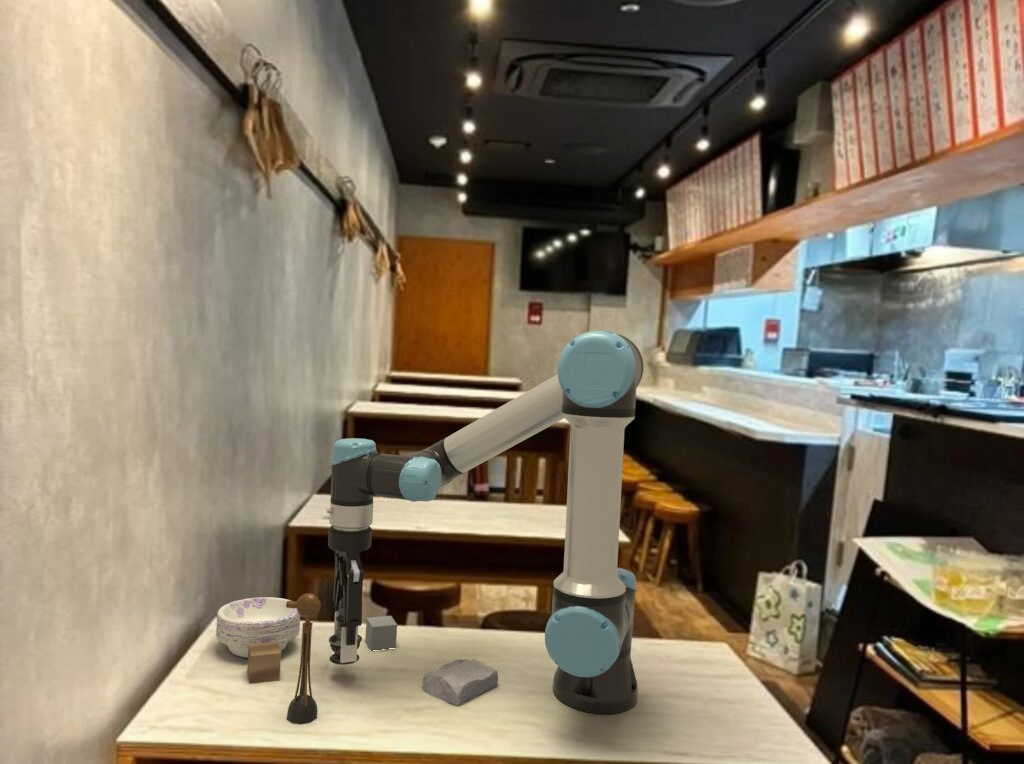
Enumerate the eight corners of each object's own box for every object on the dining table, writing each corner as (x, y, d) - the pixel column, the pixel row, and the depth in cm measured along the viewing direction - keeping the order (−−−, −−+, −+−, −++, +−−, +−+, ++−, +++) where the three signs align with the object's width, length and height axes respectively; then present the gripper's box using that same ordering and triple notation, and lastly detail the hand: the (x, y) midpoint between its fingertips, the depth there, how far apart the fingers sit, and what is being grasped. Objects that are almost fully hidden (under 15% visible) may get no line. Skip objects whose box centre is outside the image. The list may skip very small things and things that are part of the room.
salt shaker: (367, 656, 134) (370, 591, 134) (347, 668, 129) (350, 600, 128) (341, 649, 137) (344, 585, 136) (320, 660, 131) (323, 594, 131)
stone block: (416, 701, 130) (460, 709, 124) (415, 672, 131) (458, 679, 125) (460, 682, 140) (502, 688, 134) (459, 655, 140) (500, 661, 134)
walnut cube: (279, 680, 130) (281, 652, 130) (249, 684, 128) (251, 656, 128) (276, 668, 135) (277, 641, 134) (247, 671, 133) (248, 644, 132)
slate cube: (395, 649, 147) (397, 624, 146) (370, 652, 145) (372, 627, 144) (389, 639, 151) (390, 615, 151) (365, 642, 149) (366, 617, 149)
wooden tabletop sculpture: (275, 721, 116) (282, 596, 116) (287, 707, 121) (294, 586, 120) (311, 725, 116) (318, 600, 115) (322, 711, 120) (329, 590, 120)
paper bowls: (257, 627, 153) (259, 589, 152) (315, 645, 146) (317, 605, 146) (196, 652, 139) (199, 611, 138) (257, 673, 132) (260, 629, 132)
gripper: (320, 514, 139) (315, 636, 140) (339, 540, 122) (332, 678, 123) (360, 513, 142) (354, 632, 143) (384, 538, 125) (377, 673, 126)
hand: (344, 653), depth 133 cm, fingers closed on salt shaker, 6 cm apart
